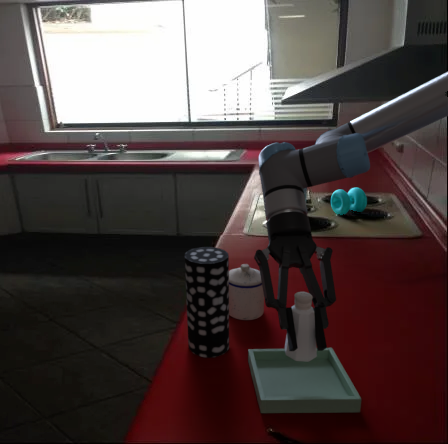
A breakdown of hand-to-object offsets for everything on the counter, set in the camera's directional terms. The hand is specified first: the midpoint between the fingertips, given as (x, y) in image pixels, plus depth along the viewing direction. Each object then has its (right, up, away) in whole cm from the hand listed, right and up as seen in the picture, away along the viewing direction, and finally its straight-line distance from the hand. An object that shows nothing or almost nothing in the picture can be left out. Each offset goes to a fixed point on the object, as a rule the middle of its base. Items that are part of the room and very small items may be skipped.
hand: (307, 349), depth 66 cm
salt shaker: (0, -2, +5) cm, 5 cm away
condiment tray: (+1, -8, +7) cm, 11 cm away
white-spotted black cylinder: (-14, -5, +19) cm, 24 cm away
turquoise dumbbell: (+49, +23, +96) cm, 110 cm away
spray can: (+31, +23, +98) cm, 105 cm away
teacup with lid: (-5, -1, +32) cm, 32 cm away
